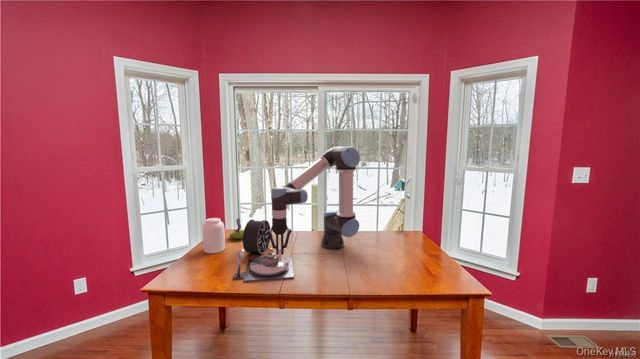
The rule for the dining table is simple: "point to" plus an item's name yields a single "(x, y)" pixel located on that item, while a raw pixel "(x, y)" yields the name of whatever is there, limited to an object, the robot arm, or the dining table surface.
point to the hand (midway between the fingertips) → (280, 260)
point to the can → (213, 236)
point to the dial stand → (239, 274)
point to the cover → (270, 259)
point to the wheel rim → (256, 236)
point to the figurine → (237, 231)
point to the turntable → (264, 270)
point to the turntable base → (285, 275)
